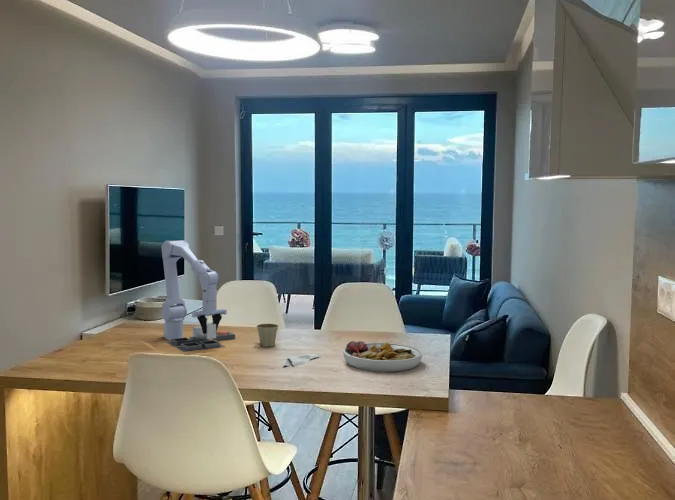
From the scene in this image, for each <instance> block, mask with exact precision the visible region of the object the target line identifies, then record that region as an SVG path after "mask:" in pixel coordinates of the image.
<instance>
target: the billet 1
mask: <svg viewBox="0 0 675 500" xmlns="http://www.w3.org/2000/svg"><path fill="white" fill-rule="evenodd" d="M192 337H193V338H194V339H204V338H203V332H202V328H201V325H199V326H192Z"/></svg>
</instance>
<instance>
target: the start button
mask: <svg viewBox="0 0 675 500" xmlns="http://www.w3.org/2000/svg"><path fill="white" fill-rule="evenodd" d="M217 331H218V330H217ZM227 331H228V330H219V331H218V335H227Z"/></svg>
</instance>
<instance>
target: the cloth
mask: <svg viewBox="0 0 675 500" xmlns="http://www.w3.org/2000/svg"><path fill="white" fill-rule="evenodd" d="M320 355H321V354H319V353H304V354H300V355H296V356H295V355H294V356H287V357H286V358H285V359H284V361H283V365H282V367H281V368H282V369H284V368H285V366H287V367H292V366H293V367H294V368H296V367H298V366H302V365H305V364H308V363H309V362H310V360H314V359H317V358H321V356H320Z"/></svg>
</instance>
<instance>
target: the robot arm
mask: <svg viewBox="0 0 675 500" xmlns="http://www.w3.org/2000/svg"><path fill="white" fill-rule="evenodd" d="M160 248H161V257H162V263H163V271H164V280H165V289H166V291H165V292H166V293H165V294H166V300H164V302H163V303H162V305H161V306H162V308H161V317H162V319H164V321H165V322H164V323H163V338H165V339H166V340H168V341H171V339H176V338H184V320H185V318H186V316H187V314H188V310H187V309H188V308H187V307H186V306H187V305H186V304H185V303H186V302H185V300H184V299H183V298H181V297H180V288H179V279H178V269H177V262H178V261H179V259H181V258H183V259H184V260H185V261H186V262H187V263H189V265H190V266H191V271H192V272H193V273H194V274H195V275H196V276H197V277H198V281H199V284H200V287H201V288H200V289H201V290H202V310H198V311H192V312H191V317H192V318H196V319H197V321H198V322H199V324H200V325H199V326H201V328H202V332H203V334H206V323H208V318H207V317H211V318H212V323H215V324H216V333H217V331H218V327H219V324H220V322H221V320H222V318H223V316H222V315H227V313H228V311H227V309H217V294H218V293H217V288H218V287H217V286H218V284H219V283H220V279H221V278H220V275H219V273H218V271H217V270H213V269H211V268H210V267H209V266H208V265H207V264H206V263H205V261H204V260H202V259H198V258H197V257H196V255H195V254H194V253H193V252H192V250H191V249H190V244H189V243H188V242H187V241H186V240H185V239H181V240H165V241H164V242H163V243H162V245H161V247H160Z"/></svg>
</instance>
